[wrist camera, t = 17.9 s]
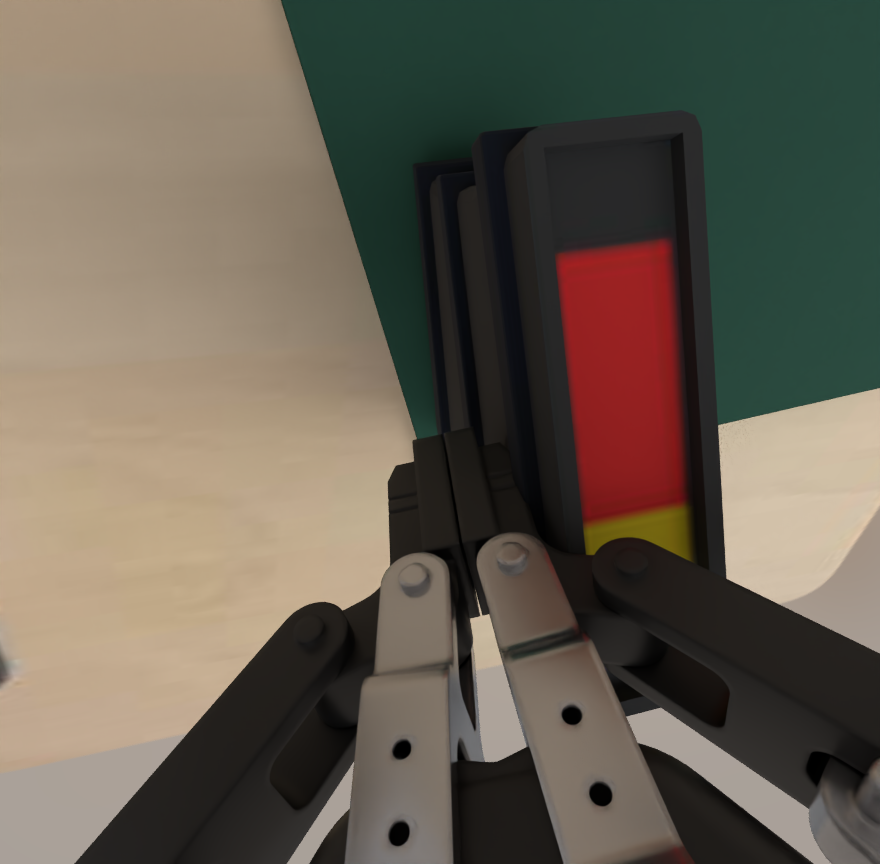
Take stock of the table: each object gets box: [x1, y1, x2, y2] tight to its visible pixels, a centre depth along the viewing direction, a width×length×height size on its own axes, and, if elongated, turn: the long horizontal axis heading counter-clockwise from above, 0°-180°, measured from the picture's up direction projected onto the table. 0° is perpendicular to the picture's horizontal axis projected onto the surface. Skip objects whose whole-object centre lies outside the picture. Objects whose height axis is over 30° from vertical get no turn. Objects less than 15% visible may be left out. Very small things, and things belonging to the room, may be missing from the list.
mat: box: [281, 0, 880, 439], centre depth 22 cm, size 20×22×1 cm
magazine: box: [413, 110, 726, 716], centre depth 17 cm, size 4×13×15 cm, turn 4°
